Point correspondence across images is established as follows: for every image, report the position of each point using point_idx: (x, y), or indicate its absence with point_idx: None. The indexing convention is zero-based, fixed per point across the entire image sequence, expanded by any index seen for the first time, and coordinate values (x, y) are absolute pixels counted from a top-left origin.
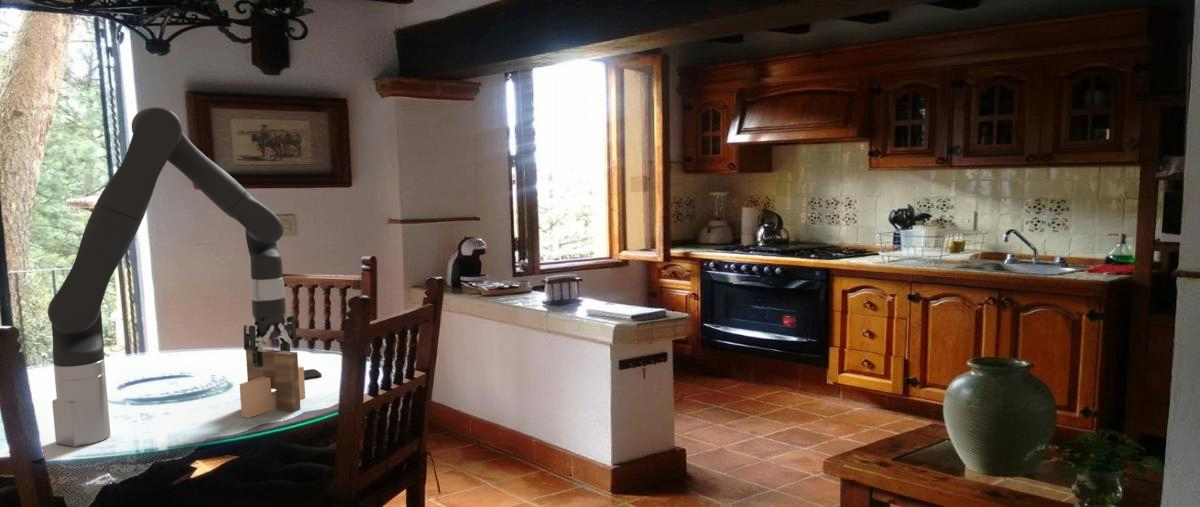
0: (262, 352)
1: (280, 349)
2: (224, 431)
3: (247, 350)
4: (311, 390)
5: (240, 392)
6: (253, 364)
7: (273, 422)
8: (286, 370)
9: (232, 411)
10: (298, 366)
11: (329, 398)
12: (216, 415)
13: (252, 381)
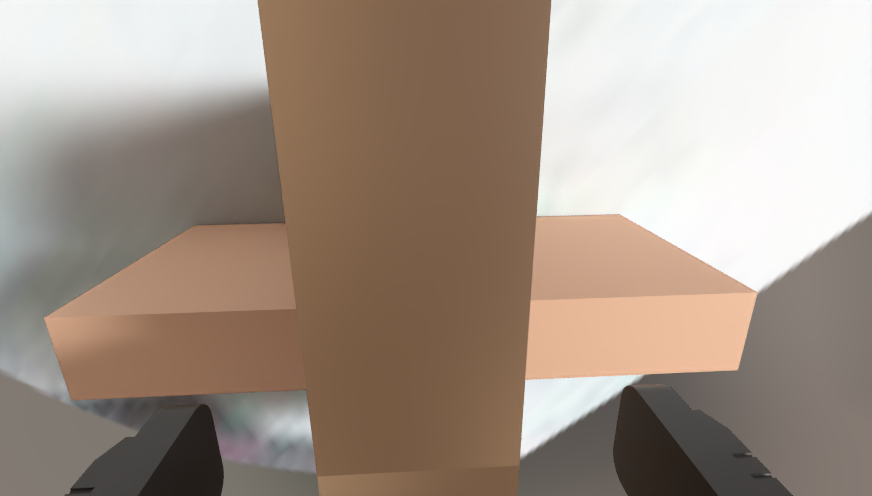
0: (322, 485)
1: (697, 470)
2: (3, 325)
3: (269, 72)
4: (751, 190)
5: (99, 286)
6: (121, 443)
7: (233, 417)
8: None
9: (239, 73)
10: (740, 324)
11: (633, 378)
12: (129, 42)
13: (171, 351)
